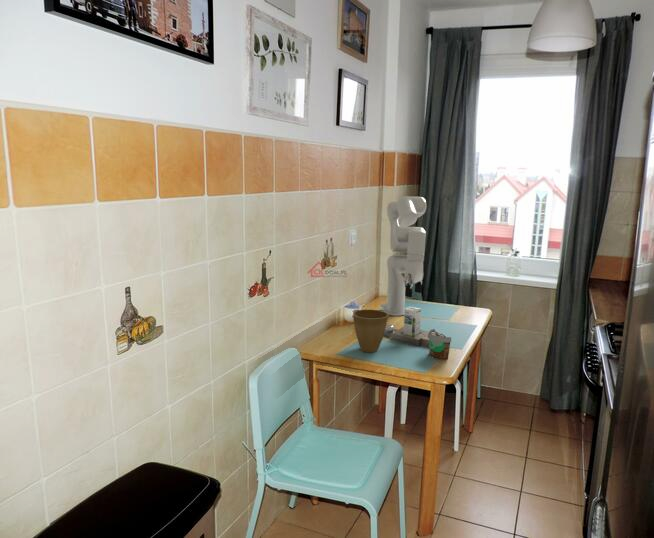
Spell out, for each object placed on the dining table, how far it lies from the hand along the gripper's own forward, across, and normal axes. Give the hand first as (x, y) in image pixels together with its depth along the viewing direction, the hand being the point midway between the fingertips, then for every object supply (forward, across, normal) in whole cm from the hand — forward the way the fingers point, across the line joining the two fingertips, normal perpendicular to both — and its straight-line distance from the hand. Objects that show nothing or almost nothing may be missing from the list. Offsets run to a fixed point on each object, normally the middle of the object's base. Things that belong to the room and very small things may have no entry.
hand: (413, 294), depth 234 cm
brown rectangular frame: (+21, +1, +4) cm, 21 cm away
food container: (+21, +15, +18) cm, 31 cm away
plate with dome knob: (+21, +1, -3) cm, 21 cm away
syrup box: (+21, 0, 0) cm, 21 cm away
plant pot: (+21, +25, -8) cm, 33 cm away
